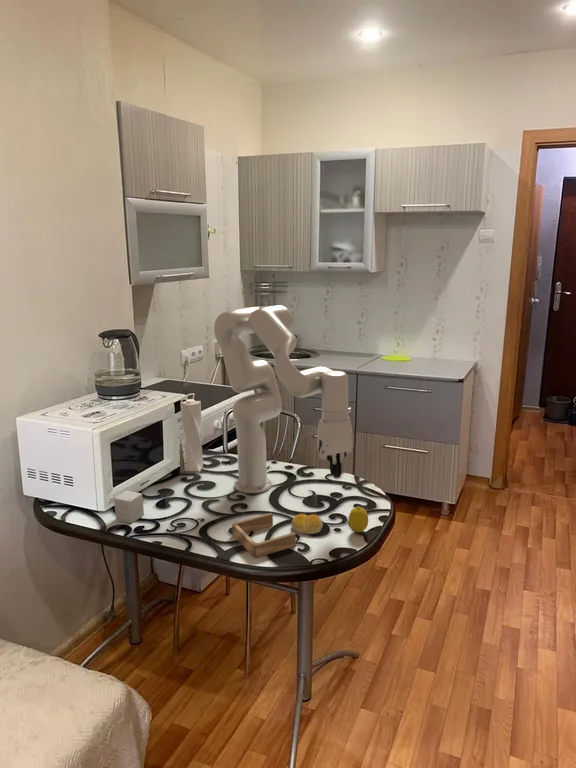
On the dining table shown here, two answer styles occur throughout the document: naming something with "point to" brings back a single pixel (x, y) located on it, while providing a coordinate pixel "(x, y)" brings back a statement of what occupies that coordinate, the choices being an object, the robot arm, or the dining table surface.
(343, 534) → the dining table surface
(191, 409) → the skyscraper
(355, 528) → the lemon
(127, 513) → the product box
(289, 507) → the dining table surface
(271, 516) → the bay
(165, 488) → the dining table surface
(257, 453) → the robot arm
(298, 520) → the bread roll
